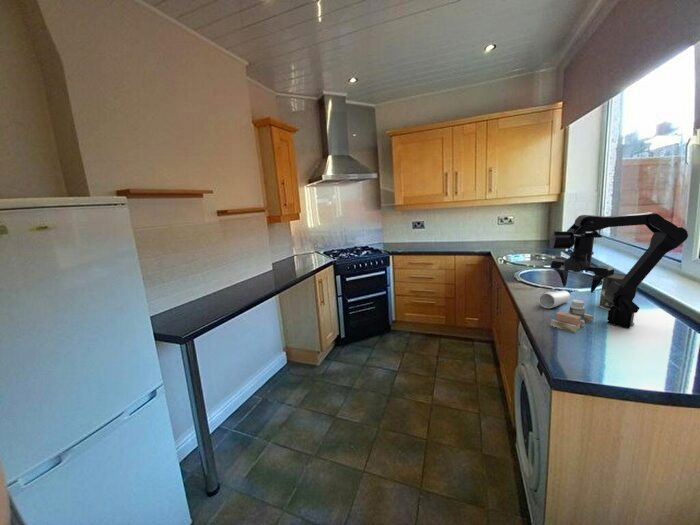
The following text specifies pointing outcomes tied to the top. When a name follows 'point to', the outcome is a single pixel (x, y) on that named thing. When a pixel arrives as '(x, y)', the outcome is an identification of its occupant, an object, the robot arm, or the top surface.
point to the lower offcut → (573, 324)
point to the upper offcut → (568, 318)
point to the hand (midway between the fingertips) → (577, 289)
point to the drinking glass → (554, 298)
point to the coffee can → (605, 283)
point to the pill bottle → (577, 308)
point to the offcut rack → (569, 326)
